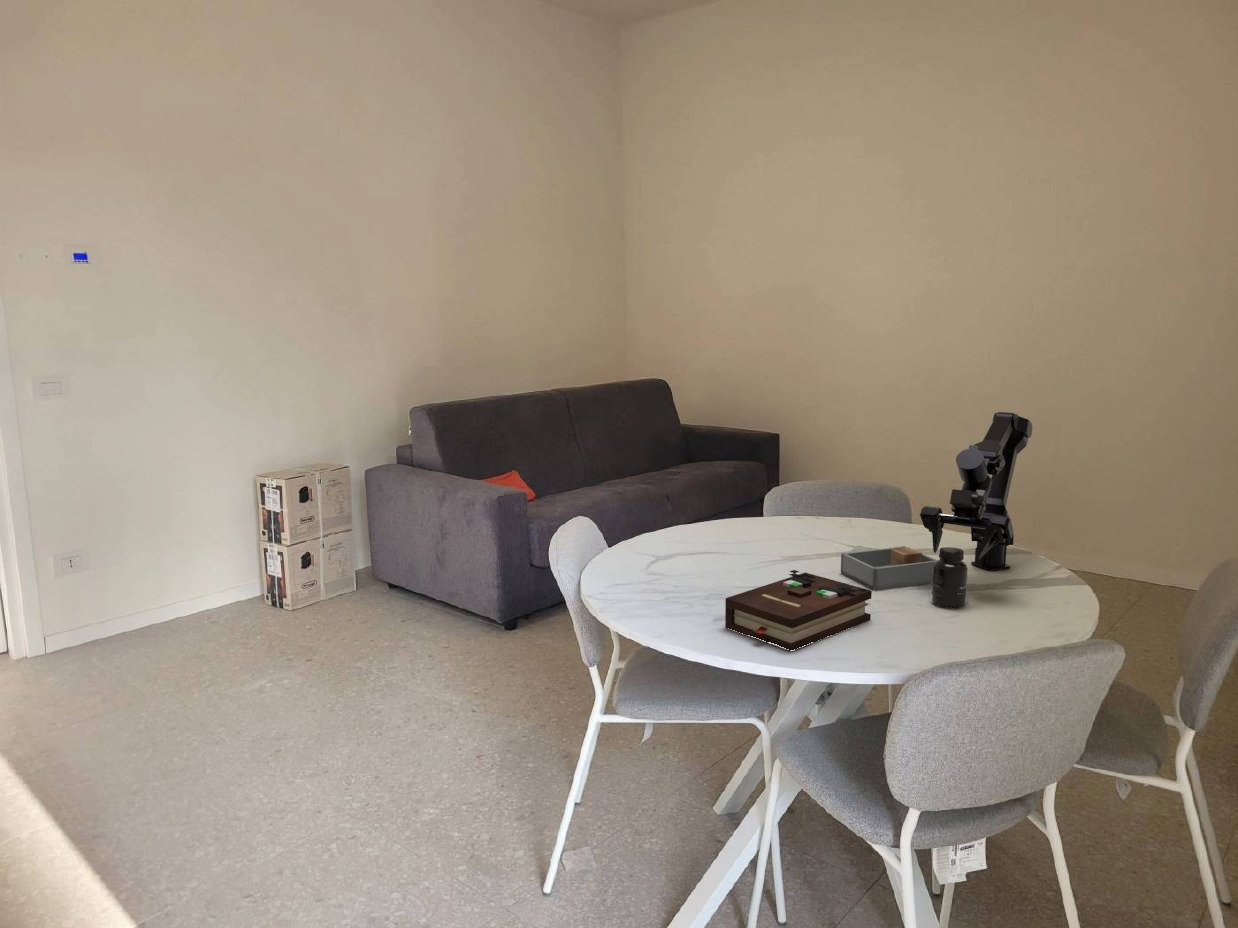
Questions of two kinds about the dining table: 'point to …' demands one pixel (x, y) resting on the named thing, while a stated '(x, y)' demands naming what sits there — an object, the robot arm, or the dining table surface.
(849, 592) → the decorative book
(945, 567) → the supplement bottle
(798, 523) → the dining table surface
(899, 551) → the walnut cube
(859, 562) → the tote
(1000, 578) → the dining table surface
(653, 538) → the dining table surface
